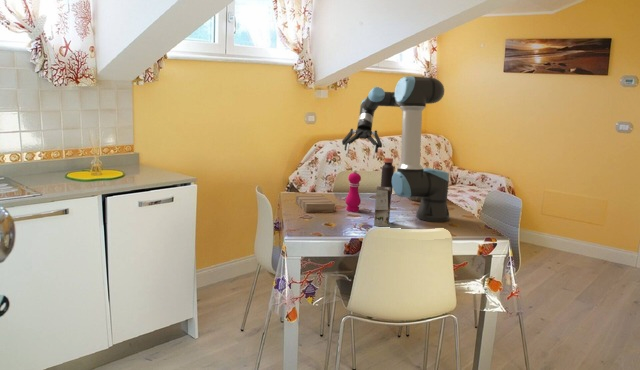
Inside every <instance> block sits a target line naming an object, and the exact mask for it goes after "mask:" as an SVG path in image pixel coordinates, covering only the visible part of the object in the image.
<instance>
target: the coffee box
mask: <svg viewBox="0 0 640 370" xmlns="http://www.w3.org/2000/svg"><path fill="white" fill-rule="evenodd" d="M391 188H392V187H381V186H377V187H376V193H375V205H374V206H375V207H374V221H373V226H374V227H375V226H376V227H385V228H388V227H389V223H390V215H391V203H392V202H391V200H392V193H391ZM392 189H393V188H392Z"/></svg>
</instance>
